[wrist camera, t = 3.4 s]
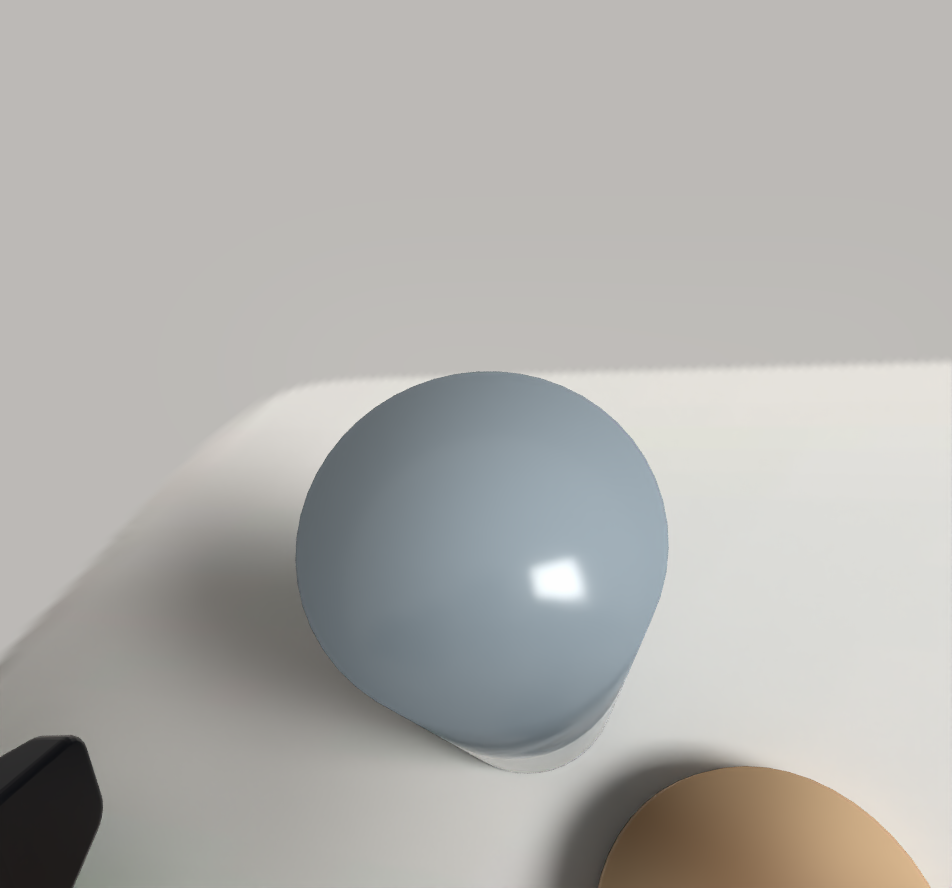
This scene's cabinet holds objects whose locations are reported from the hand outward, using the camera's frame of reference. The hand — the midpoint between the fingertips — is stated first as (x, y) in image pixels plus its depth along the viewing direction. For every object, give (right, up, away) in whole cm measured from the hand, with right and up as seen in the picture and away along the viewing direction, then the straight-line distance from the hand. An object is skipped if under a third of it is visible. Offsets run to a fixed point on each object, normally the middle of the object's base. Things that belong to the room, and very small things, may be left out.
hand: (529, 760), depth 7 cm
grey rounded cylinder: (+1, -3, +12) cm, 12 cm away
